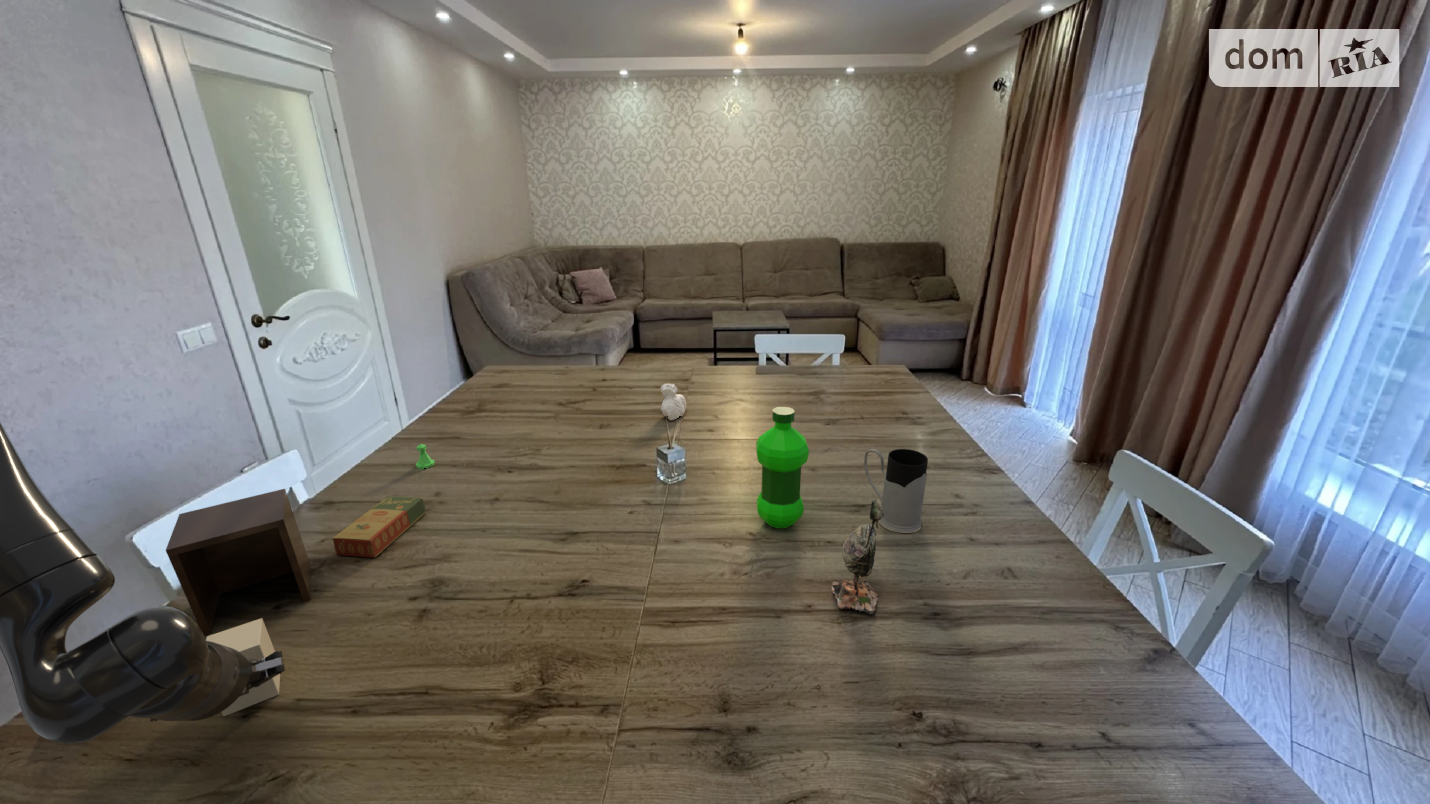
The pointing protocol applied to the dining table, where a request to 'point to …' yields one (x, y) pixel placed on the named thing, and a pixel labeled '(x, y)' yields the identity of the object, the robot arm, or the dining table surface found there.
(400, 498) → the carton
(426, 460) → the game piece
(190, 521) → the walnut shelf
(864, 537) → the bird figurine
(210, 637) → the cream box
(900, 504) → the glass holder
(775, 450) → the plastic bottle
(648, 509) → the dining table surface
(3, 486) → the robot arm
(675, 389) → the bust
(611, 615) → the dining table surface
